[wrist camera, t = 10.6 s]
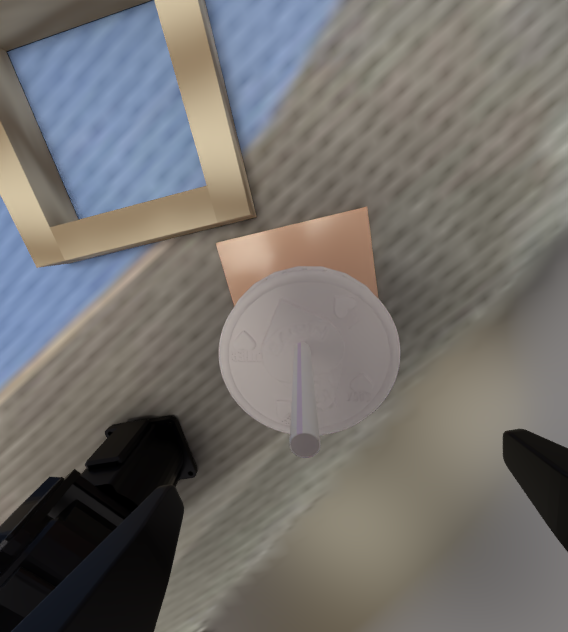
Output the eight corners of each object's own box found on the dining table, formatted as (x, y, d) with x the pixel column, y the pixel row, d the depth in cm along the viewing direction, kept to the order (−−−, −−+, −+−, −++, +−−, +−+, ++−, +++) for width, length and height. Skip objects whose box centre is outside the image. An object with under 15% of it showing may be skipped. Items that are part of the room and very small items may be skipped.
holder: (256, 217, 17) (250, 214, 15) (69, 263, 19) (36, 267, 16) (188, -68, 13) (164, -134, 11) (-43, 19, 15) (-108, -23, 12)
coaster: (381, 346, 20) (384, 349, 19) (254, 369, 21) (253, 373, 20) (364, 207, 17) (367, 206, 16) (218, 242, 18) (215, 242, 17)
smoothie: (331, 237, 17) (456, 230, 4) (361, 324, 18) (527, 550, 5) (242, 274, 18) (77, 377, 5) (278, 354, 19) (233, 607, 6)
